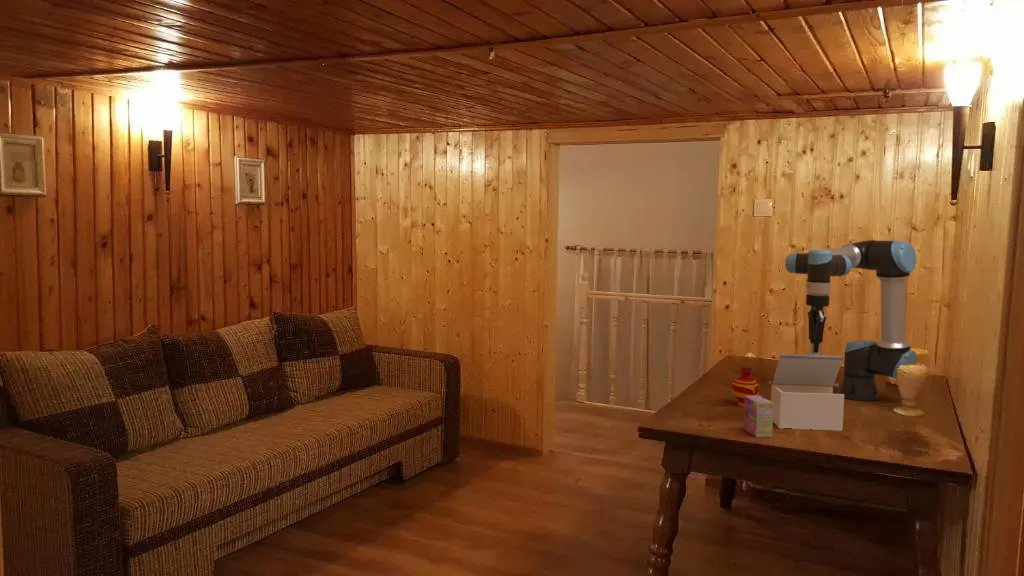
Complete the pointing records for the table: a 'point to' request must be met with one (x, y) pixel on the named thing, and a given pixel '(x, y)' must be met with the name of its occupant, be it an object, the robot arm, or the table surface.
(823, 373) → the box lid
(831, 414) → the white lidded container
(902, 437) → the table surface
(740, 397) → the potion bottle
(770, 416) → the box
